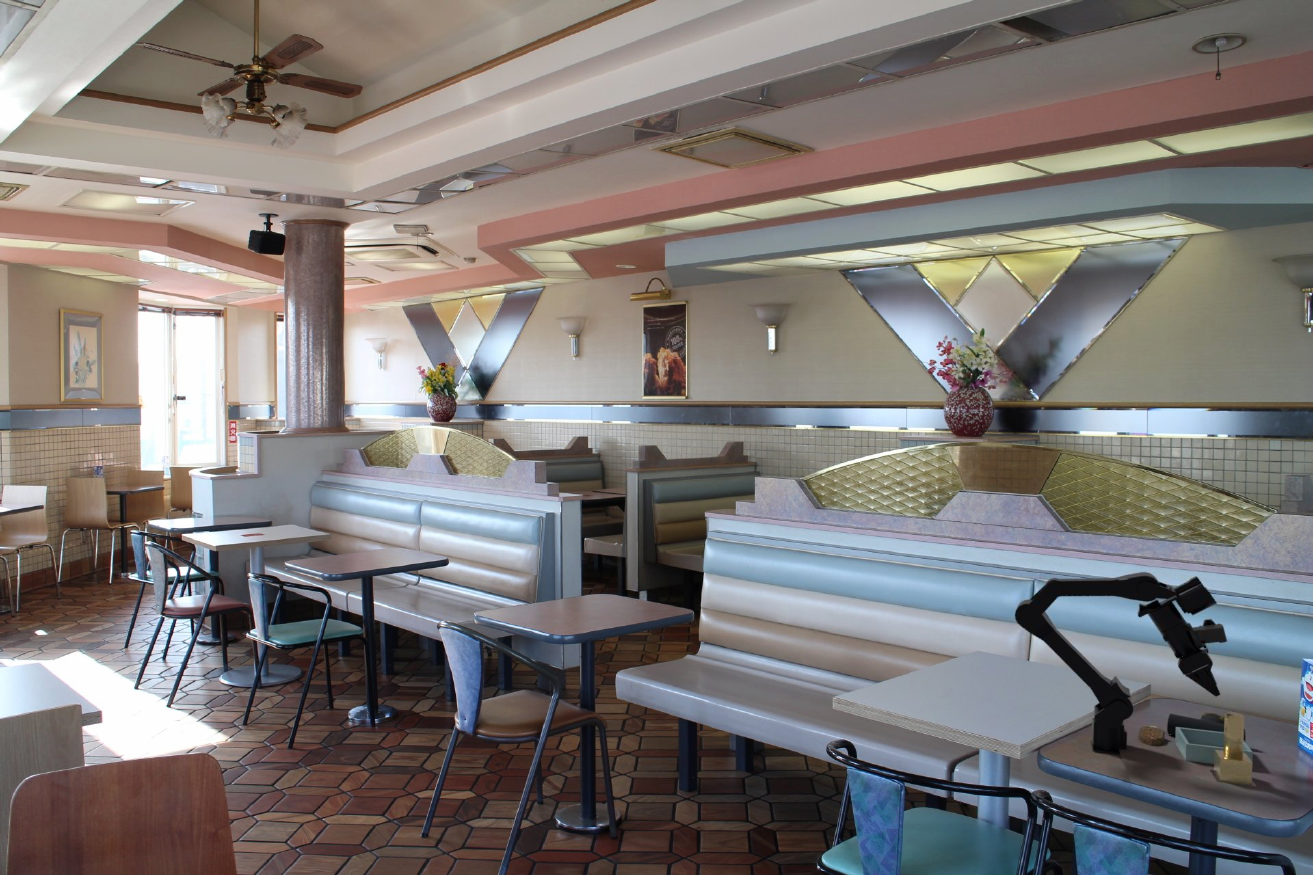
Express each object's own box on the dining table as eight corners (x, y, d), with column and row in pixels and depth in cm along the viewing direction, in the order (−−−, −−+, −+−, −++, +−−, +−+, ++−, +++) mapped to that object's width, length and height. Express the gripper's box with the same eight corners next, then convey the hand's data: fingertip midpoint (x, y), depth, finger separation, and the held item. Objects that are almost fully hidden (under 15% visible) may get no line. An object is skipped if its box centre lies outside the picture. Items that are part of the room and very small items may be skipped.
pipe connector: (1180, 704, 231) (1251, 718, 221) (1179, 725, 231) (1251, 740, 221) (1167, 715, 222) (1241, 730, 212) (1166, 737, 223) (1240, 754, 212)
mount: (1216, 786, 191) (1217, 767, 191) (1209, 774, 198) (1209, 756, 198) (1256, 791, 189) (1257, 772, 189) (1247, 779, 196) (1248, 760, 196)
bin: (1185, 764, 203) (1186, 743, 203) (1175, 746, 215) (1175, 726, 215) (1252, 773, 199) (1252, 751, 199) (1237, 754, 211) (1238, 733, 211)
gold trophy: (1219, 780, 192) (1221, 716, 192) (1214, 771, 197) (1215, 708, 197) (1251, 784, 190) (1253, 720, 190) (1244, 774, 195) (1246, 712, 195)
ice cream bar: (1137, 726, 227) (1132, 744, 215) (1148, 712, 226) (1144, 728, 213) (1159, 741, 225) (1155, 760, 212) (1170, 726, 224) (1167, 744, 211)
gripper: (1211, 615, 195) (1259, 683, 192) (1204, 601, 212) (1248, 664, 208) (1159, 640, 200) (1205, 707, 196) (1157, 624, 216) (1199, 686, 212)
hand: (1216, 690), depth 203 cm, fingers open, 9 cm apart
